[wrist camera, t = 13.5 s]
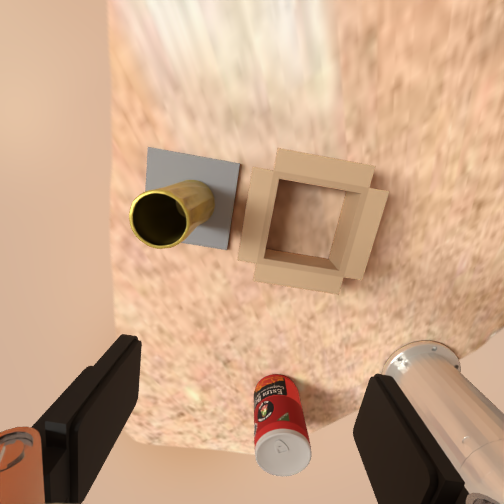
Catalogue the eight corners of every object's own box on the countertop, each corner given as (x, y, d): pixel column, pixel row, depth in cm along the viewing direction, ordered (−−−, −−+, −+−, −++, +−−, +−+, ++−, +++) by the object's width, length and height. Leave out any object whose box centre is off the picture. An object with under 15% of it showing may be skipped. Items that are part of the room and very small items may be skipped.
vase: (222, 213, 37) (207, 237, 24) (183, 231, 38) (146, 265, 24) (202, 171, 36) (173, 171, 22) (162, 191, 36) (108, 202, 23)
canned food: (280, 365, 45) (290, 423, 34) (307, 395, 47) (323, 460, 36) (244, 387, 46) (242, 451, 36) (271, 416, 48) (277, 485, 38)
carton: (344, 282, 41) (356, 297, 36) (236, 265, 40) (234, 278, 35) (376, 170, 36) (396, 169, 31) (255, 147, 35) (256, 143, 30)
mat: (227, 249, 39) (226, 250, 39) (144, 235, 38) (142, 236, 38) (239, 163, 36) (239, 163, 35) (149, 147, 35) (147, 147, 35)
